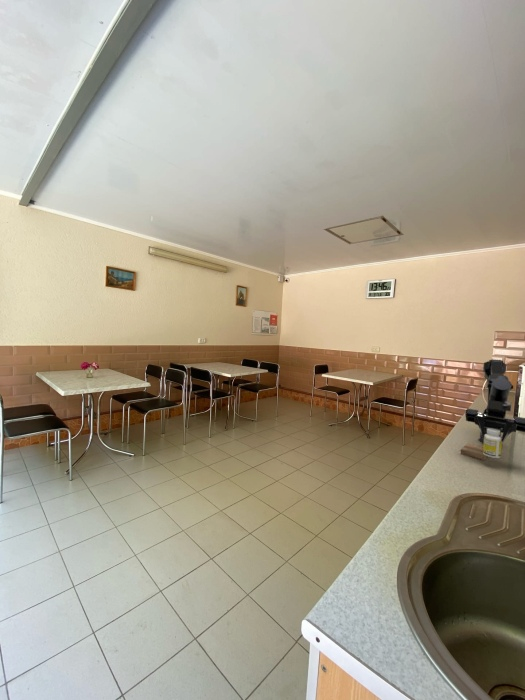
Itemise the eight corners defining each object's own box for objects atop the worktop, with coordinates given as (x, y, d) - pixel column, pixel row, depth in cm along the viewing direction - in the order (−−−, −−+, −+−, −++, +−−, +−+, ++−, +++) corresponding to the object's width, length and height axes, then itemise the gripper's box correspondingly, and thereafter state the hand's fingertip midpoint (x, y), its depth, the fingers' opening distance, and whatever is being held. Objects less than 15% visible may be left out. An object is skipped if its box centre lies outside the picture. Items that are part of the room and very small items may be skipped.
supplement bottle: (494, 452, 114) (496, 427, 113) (504, 459, 109) (506, 432, 108) (479, 451, 115) (481, 427, 114) (488, 458, 109) (490, 432, 109)
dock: (466, 447, 129) (467, 443, 128) (489, 453, 123) (490, 448, 123) (460, 453, 122) (461, 449, 122) (484, 460, 116) (485, 455, 116)
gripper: (467, 388, 119) (461, 421, 112) (530, 396, 107) (527, 434, 99) (469, 404, 125) (463, 436, 118) (528, 413, 113) (525, 450, 106)
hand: (492, 439), depth 110 cm, fingers closed on supplement bottle, 5 cm apart
